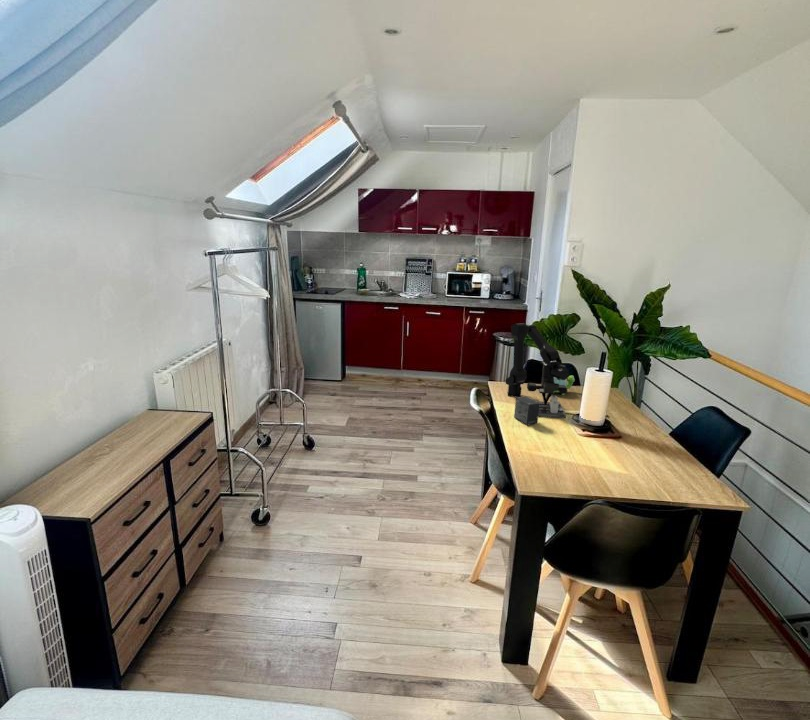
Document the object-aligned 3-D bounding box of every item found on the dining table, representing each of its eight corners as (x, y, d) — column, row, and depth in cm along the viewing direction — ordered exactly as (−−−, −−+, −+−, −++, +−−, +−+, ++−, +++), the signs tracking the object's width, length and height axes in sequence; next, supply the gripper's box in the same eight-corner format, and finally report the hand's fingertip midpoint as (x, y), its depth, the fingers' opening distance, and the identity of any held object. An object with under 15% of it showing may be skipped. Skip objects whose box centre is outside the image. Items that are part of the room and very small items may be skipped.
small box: (538, 424, 213) (540, 402, 211) (526, 426, 211) (528, 404, 208) (524, 416, 223) (526, 395, 220) (513, 417, 220) (515, 397, 218)
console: (533, 416, 223) (534, 411, 222) (529, 403, 240) (530, 399, 239) (566, 418, 221) (566, 414, 220) (559, 405, 238) (560, 401, 237)
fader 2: (551, 413, 222) (552, 403, 221) (550, 410, 225) (551, 400, 224) (557, 413, 222) (558, 403, 220) (556, 411, 225) (557, 401, 223)
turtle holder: (578, 395, 254) (581, 374, 251) (547, 396, 252) (549, 375, 249) (568, 388, 266) (570, 368, 263) (538, 388, 264) (540, 368, 261)
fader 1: (550, 407, 230) (551, 397, 229) (549, 405, 233) (550, 395, 232) (556, 407, 230) (557, 397, 228) (555, 405, 233) (556, 395, 231)
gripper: (530, 378, 221) (527, 408, 225) (571, 380, 219) (567, 411, 223) (528, 371, 232) (525, 400, 236) (566, 374, 229) (563, 403, 233)
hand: (545, 404), depth 232 cm, fingers closed
